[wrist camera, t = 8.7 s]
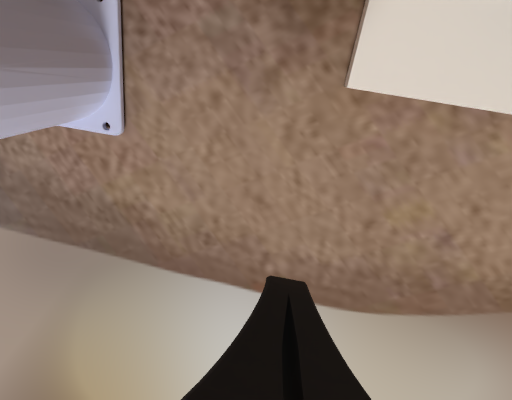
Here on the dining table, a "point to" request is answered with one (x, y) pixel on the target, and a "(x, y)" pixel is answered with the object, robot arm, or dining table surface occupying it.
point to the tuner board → (436, 51)
